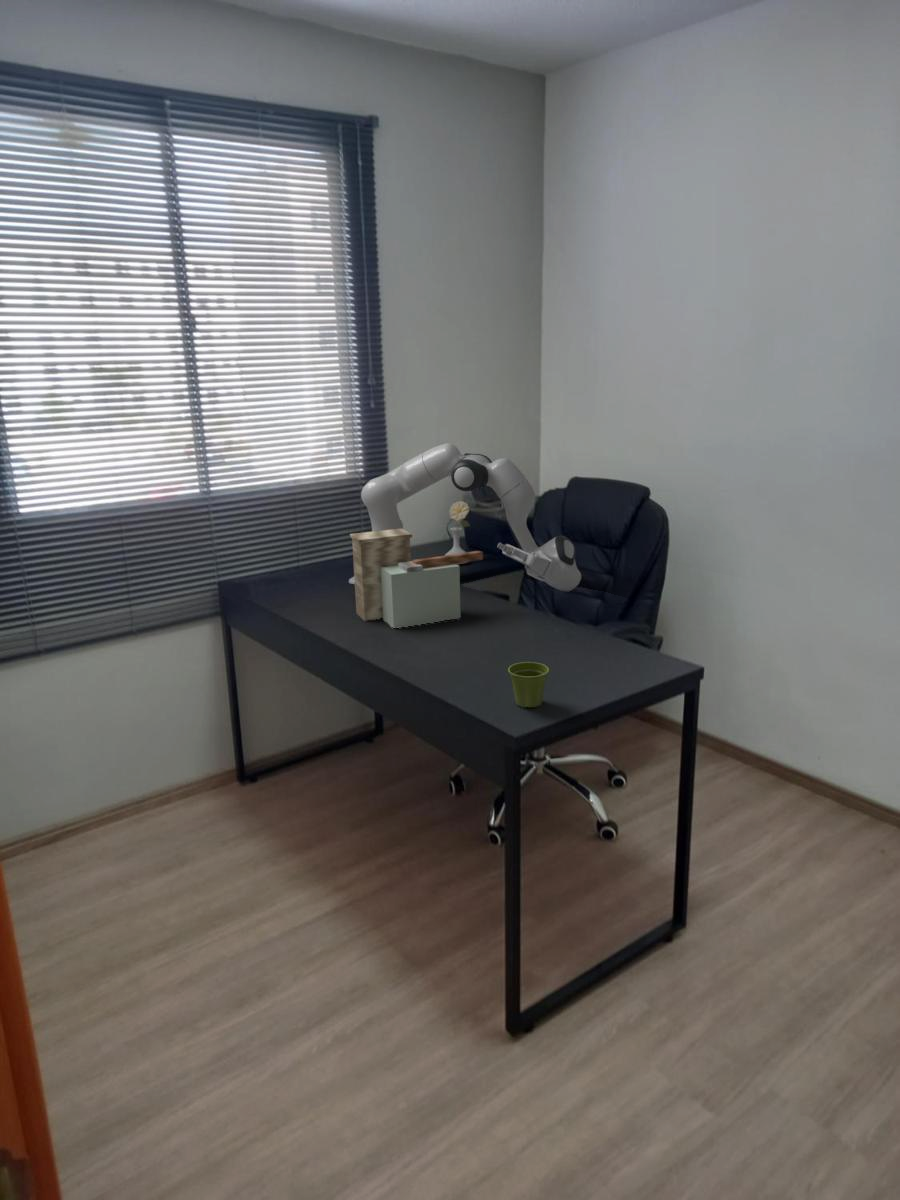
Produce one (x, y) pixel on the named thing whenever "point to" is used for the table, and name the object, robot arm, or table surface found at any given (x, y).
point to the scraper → (440, 561)
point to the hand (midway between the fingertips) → (505, 548)
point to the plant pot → (528, 682)
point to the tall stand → (376, 566)
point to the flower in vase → (457, 513)
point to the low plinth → (420, 595)
